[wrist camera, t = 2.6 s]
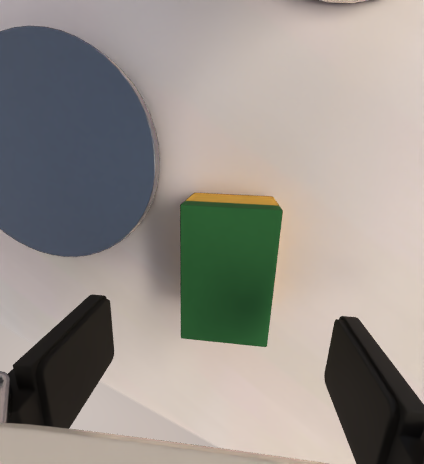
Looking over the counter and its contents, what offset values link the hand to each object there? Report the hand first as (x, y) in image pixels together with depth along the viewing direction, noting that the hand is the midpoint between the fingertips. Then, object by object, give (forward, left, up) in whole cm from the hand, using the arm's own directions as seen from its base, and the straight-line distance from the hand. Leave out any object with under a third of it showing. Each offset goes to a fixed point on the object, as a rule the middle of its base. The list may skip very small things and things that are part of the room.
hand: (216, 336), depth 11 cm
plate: (-7, -11, -8) cm, 15 cm away
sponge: (-1, 0, -8) cm, 7 cm away
